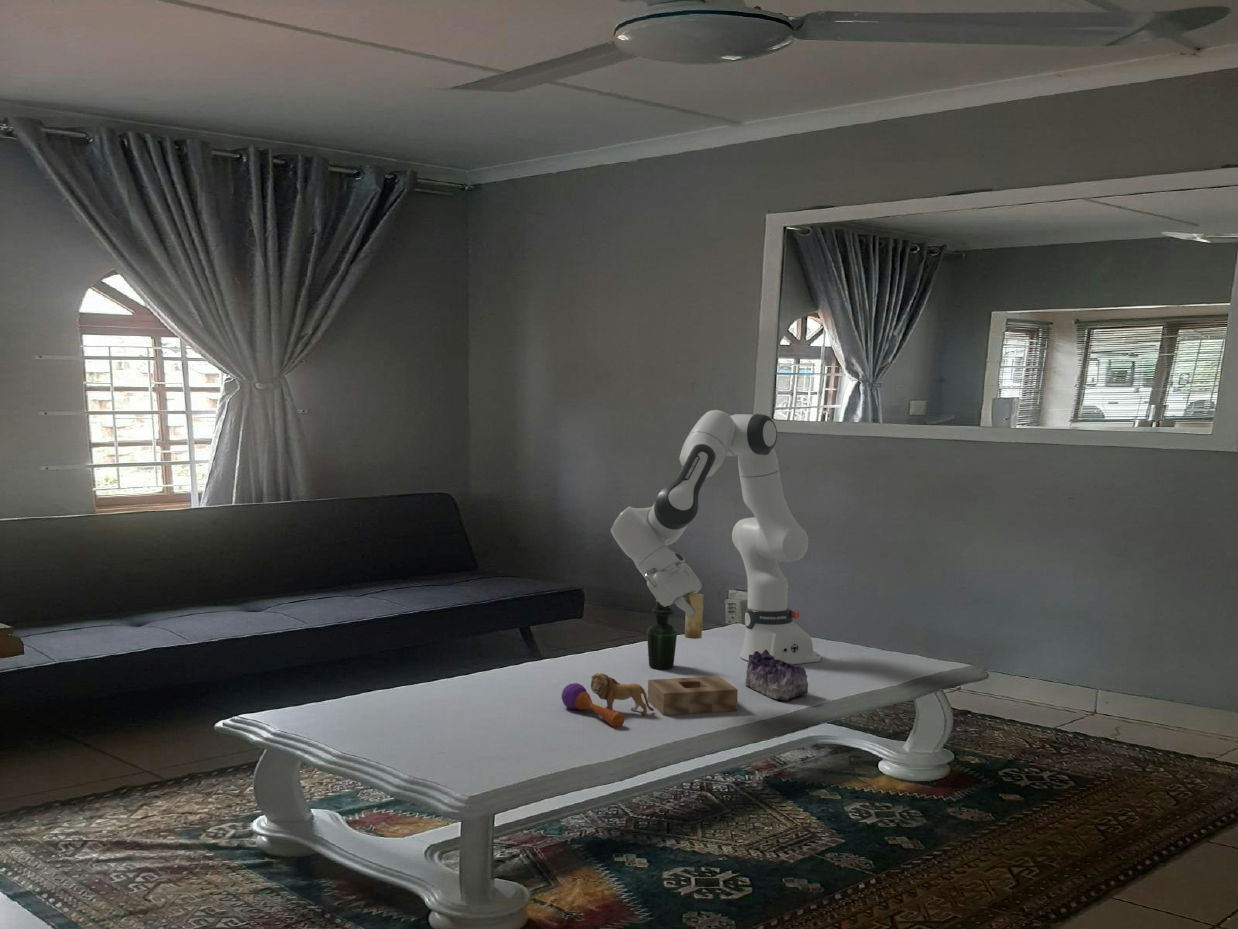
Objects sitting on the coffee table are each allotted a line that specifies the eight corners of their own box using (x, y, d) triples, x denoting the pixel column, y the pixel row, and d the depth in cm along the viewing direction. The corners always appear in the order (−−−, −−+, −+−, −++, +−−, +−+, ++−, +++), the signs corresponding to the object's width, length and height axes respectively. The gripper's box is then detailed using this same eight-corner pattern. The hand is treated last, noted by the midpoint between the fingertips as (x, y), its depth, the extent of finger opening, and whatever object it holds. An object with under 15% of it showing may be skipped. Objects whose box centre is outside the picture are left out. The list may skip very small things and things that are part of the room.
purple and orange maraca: (606, 713, 232) (555, 684, 248) (608, 738, 233) (558, 708, 249) (628, 704, 235) (576, 676, 251) (630, 728, 237) (579, 699, 253)
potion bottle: (682, 667, 287) (684, 601, 286) (660, 672, 282) (661, 604, 281) (662, 661, 294) (663, 596, 292) (639, 666, 288) (641, 599, 287)
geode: (727, 684, 272) (731, 645, 273) (763, 685, 278) (768, 647, 278) (776, 702, 254) (781, 660, 255) (814, 703, 260) (818, 662, 260)
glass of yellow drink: (698, 634, 254) (700, 593, 253) (704, 638, 250) (705, 596, 250) (682, 635, 253) (684, 593, 252) (687, 638, 249) (689, 596, 248)
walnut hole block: (718, 696, 260) (719, 676, 260) (737, 710, 249) (737, 689, 249) (647, 700, 256) (648, 679, 255) (663, 715, 244) (663, 693, 244)
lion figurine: (590, 715, 243) (590, 676, 242) (589, 708, 248) (590, 670, 248) (654, 716, 243) (655, 676, 243) (653, 709, 249) (654, 670, 248)
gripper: (651, 563, 244) (690, 611, 240) (684, 553, 262) (720, 597, 259) (633, 581, 246) (670, 628, 242) (666, 570, 265) (702, 613, 261)
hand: (696, 612), depth 251 cm, fingers closed on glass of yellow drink, 4 cm apart
